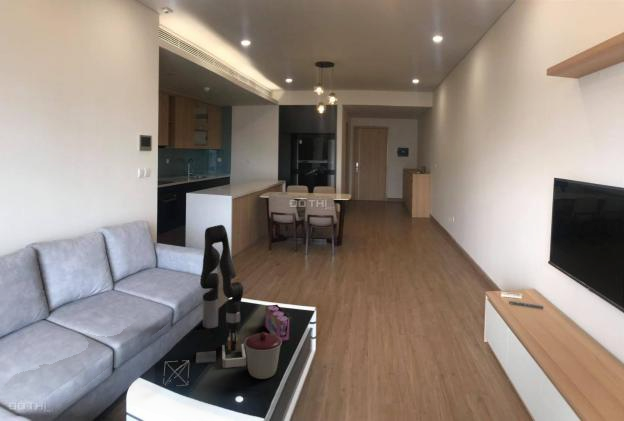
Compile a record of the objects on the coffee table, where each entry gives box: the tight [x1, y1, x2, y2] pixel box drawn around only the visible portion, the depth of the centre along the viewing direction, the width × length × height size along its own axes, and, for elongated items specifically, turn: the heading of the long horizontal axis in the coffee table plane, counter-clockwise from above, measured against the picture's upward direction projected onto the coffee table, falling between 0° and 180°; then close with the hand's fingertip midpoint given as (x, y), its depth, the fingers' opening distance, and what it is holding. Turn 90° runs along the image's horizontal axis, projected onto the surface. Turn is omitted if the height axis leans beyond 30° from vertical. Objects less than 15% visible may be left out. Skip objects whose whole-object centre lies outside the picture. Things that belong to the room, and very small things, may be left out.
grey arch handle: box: [221, 343, 247, 369], centre depth 209 cm, size 16×11×4 cm
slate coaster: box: [195, 350, 217, 364], centre depth 209 cm, size 10×10×1 cm
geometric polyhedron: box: [162, 359, 190, 387], centre depth 185 cm, size 12×11×9 cm
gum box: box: [265, 304, 290, 342], centre depth 241 cm, size 24×8×14 cm, turn 24°
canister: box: [243, 331, 283, 380], centre depth 195 cm, size 18×18×21 cm
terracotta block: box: [227, 336, 239, 351], centre depth 221 cm, size 5×5×5 cm
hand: (232, 350), depth 216 cm, fingers closed
